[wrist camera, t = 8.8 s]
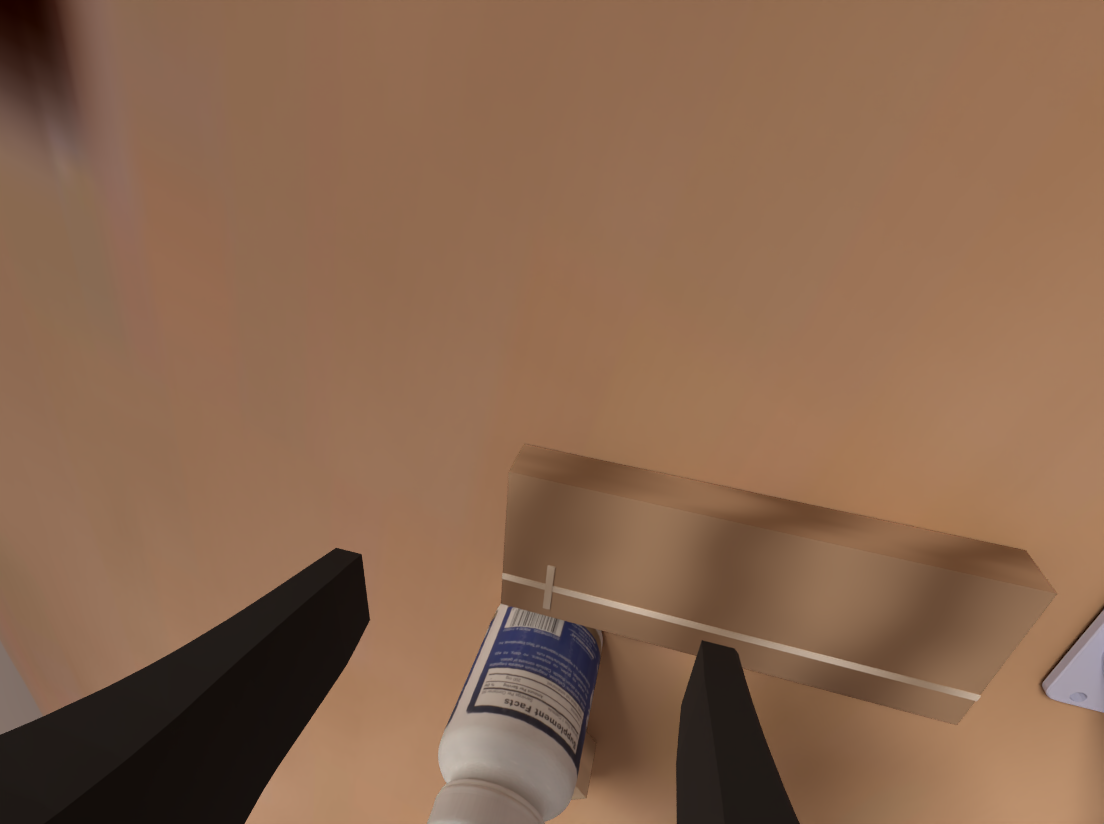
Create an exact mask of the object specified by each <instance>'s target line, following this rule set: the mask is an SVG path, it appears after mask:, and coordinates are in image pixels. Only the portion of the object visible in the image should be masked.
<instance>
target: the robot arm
mask: <svg viewBox="0 0 1104 824" xmlns="http://www.w3.org/2000/svg"><path fill="white" fill-rule="evenodd" d="M369 621H370V617H369V609H368V601H367V593H366V585H365V577H364V569H363V561H362V554H358V553H354V552H350V551H346V550H343V549H339V548H335V549H334V550H332V551H331V552H329V553H328V554H326V555H325V556H323V557H322V558H320V559H319V560H317V561H316V562H314V563H313V564H311V565H310V566H308V567H307V568H305V569H304V570H302V571H301V572H299V573H298V574H296V575H295V576H293V577H292V578H290V579H289V580H287V581H286V582H284V583H283V584H281V585H280V586H278V587H277V588H275V589H274V590H272V591H271V592H269V593H268V594H266V595H265V596H263V597H262V598H260V599H259V600H257V601H256V602H254V603H252V604H251V605H249V606H248V607H246V608H245V609H243V610H242V611H240V612H239V613H237V614H236V615H234V616H232V617H231V618H229V619H228V620H226V621H224V622H223V623H221V624H219V625H218V626H216V627H214V628H213V629H211V630H209V631H208V632H206V633H205V634H203V635H201V636H200V637H198V638H196V639H195V640H193V641H191V642H190V643H188V644H186V645H185V646H183V647H181V648H179V649H178V650H176V651H174V652H172V653H171V654H169V655H167V656H165V657H163V658H162V659H160V660H158V661H156V662H154V663H152V664H151V665H149V666H147V667H145V668H143V669H141V670H139V671H137V672H135V673H133V674H131V675H129V676H128V677H126V678H124V679H122V680H120V681H118V682H116V683H114V684H112V685H110V686H108V687H106V688H104V689H102V690H99V691H97V692H95V693H93V694H91V695H89V696H87V697H84V698H82V699H80V700H78V701H76V702H74V703H71V704H69V705H67V706H65V707H63V708H61V709H58V710H56V711H54V712H52V713H50V714H48V715H46V716H43V717H41V718H39V719H37V720H34V721H32V722H30V723H27V724H25V725H23V726H21V727H18V728H15V729H13V730H11V731H9V732H6V733H4V734H1V735H0V824H245V822H246V820H247V818H248V816H249V815H250V813H251V811H252V809H253V808H254V806H255V804H256V802H257V800H258V799H259V797H260V795H261V793H262V792H263V790H264V788H265V787H266V785H267V784H268V782H269V780H270V779H271V777H272V776H273V774H274V772H275V771H276V769H277V768H278V766H279V765H280V763H281V762H282V760H283V759H284V757H285V756H286V754H287V753H288V751H289V750H290V748H291V747H292V745H293V744H294V742H295V741H296V740H297V738H298V737H299V735H300V734H301V732H302V731H303V729H304V728H305V726H306V725H307V723H308V722H309V720H310V719H311V717H312V716H313V714H314V713H315V712H316V710H317V709H318V707H319V706H320V704H321V703H322V701H323V700H324V698H325V697H326V695H327V694H328V692H329V691H330V689H331V688H332V686H333V685H334V683H335V682H336V680H337V679H338V677H339V676H340V674H341V673H342V671H343V670H344V668H345V667H346V665H347V663H348V661H349V659H350V658H351V656H352V654H353V652H354V650H355V648H356V646H357V644H358V642H359V640H360V638H361V636H362V635H363V633H364V631H365V629H366V627H367V625H368V623H369ZM1042 687H1043V689H1044V691H1045V693H1046V695H1047V696H1048V697H1049V698H1051V699H1053V700H1056V701H1060V702H1064V703H1068V704H1072V705H1076V706H1080V707H1083V708H1087V709H1091V710H1095V711H1099V712H1103V713H1104V610H1103V611H1102V612H1101V613H1100V615H1099V616H1098V617H1097V618H1096V619H1095V621H1094V622H1093V623H1092V624H1091V625H1090V627H1089V628H1088V629H1087V630H1086V631H1085V632H1084V634H1083V635H1082V636H1081V637H1080V638H1079V640H1078V641H1077V642H1076V643H1075V644H1074V646H1073V647H1072V648H1071V649H1070V650H1069V652H1068V653H1067V654H1066V655H1065V656H1064V658H1063V659H1062V660H1061V661H1060V662H1059V663H1058V665H1057V666H1056V667H1055V668H1054V669H1053V671H1052V672H1051V673H1050V674H1049V675H1048V677H1047V678H1046V679H1045V680H1044V681H1043V684H1042ZM676 781H677V824H800V823H799V821H798V819H797V817H796V814H795V812H794V810H793V807H792V805H791V803H790V800H789V798H788V795H787V793H786V791H785V788H784V786H783V783H782V781H781V778H780V776H779V773H778V771H777V768H776V765H775V763H774V760H773V758H772V755H771V753H770V750H769V747H768V745H767V742H766V739H765V737H764V734H763V731H762V728H761V726H760V723H759V720H758V717H757V714H756V711H755V708H754V705H753V702H752V699H751V696H750V692H749V689H748V686H747V683H746V679H745V676H744V672H743V669H742V665H741V661H740V657H739V654H738V652H737V651H736V650H735V648H731V647H727V646H723V645H719V644H715V643H711V642H707V641H703V640H702V641H701V644H700V647H699V650H698V654H697V657H696V660H695V663H694V666H693V670H692V673H691V676H690V679H689V682H688V686H687V689H686V692H685V695H684V698H683V701H682V705H681V714H680V725H679V736H678V748H677V761H676Z"/></svg>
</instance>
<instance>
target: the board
mask: <svg viewBox="0 0 1104 824" xmlns="http://www.w3.org/2000/svg"><path fill="white" fill-rule="evenodd" d="M1056 595H1057V593H1056V591H1055V590H1054V588H1053V587H1052V586H1051V584H1050V583H1049V582H1048V580H1047V579H1046V577H1045V576H1044V575H1043V573H1042V572H1041V571H1040V569H1039V568H1038V566H1037V565H1036V564H1035V562H1034V561H1033V560H1032V558H1031V557H1030V555H1029V554H1028V553H1027V551H1025V550H1021V549H1016V548H1011V547H1007V546H1002V545H997V544H992V543H988V542H983V541H978V540H974V539H969V538H964V537H960V536H955V535H950V534H945V533H941V532H936V531H931V530H927V529H922V528H917V527H913V526H908V525H903V524H898V523H894V522H889V521H884V520H880V519H875V518H870V517H865V516H861V515H856V514H851V513H847V512H842V511H837V510H833V509H828V508H823V507H818V506H814V505H809V504H804V503H800V502H795V501H790V500H785V499H781V498H776V497H771V496H767V495H762V494H757V493H753V492H748V491H743V490H738V489H734V488H729V487H724V486H720V485H715V484H710V483H706V482H701V481H696V480H691V479H687V478H682V477H677V476H673V475H668V474H663V473H658V472H654V471H649V470H644V469H640V468H635V467H630V466H626V465H621V464H616V463H611V462H607V461H602V460H597V459H593V458H588V457H583V456H579V455H574V454H569V453H564V452H560V451H555V450H550V449H546V448H541V447H536V446H531V445H527V444H524V445H523V447H522V449H521V451H520V452H519V454H518V456H517V458H516V460H515V461H514V463H513V465H512V467H511V468H510V470H509V475H508V492H507V509H506V526H505V543H504V559H503V573H502V593H501V604H504V605H507V606H511V607H515V608H519V609H522V610H526V611H530V612H534V613H537V614H541V615H545V616H549V617H552V618H556V619H560V620H564V621H567V622H571V623H575V624H579V625H582V626H586V627H590V628H594V629H597V630H601V631H605V632H609V633H612V634H616V635H620V636H624V637H627V638H631V639H635V640H639V641H642V642H646V643H650V644H654V645H658V646H661V647H665V648H669V649H673V650H676V651H680V652H684V653H688V654H691V655H695V656H697V654H698V650H699V647H700V644H701V641H702V640H703V641H707V642H711V643H715V644H719V645H723V646H727V647H731V648H735V650H736V651H737V652H738V654H739V657H740V661H741V665H742V668H744V669H748V670H751V671H755V672H759V673H763V674H766V675H770V676H774V677H778V678H781V679H785V680H789V681H793V682H796V683H800V684H804V685H808V686H811V687H815V688H819V689H823V690H826V691H830V692H834V693H838V694H842V695H845V696H849V697H853V698H857V699H860V700H864V701H868V702H872V703H875V704H879V705H883V706H887V707H890V708H894V709H898V710H902V711H905V712H909V713H913V714H917V715H920V716H924V717H928V718H932V719H935V720H939V721H943V722H947V723H950V724H954V725H958V723H959V722H960V721H961V719H962V718H963V717H964V716H965V714H966V713H967V712H968V710H969V709H970V708H971V706H972V705H973V704H974V702H975V701H978V699H979V698H980V697H981V696H980V695H981V693H982V692H983V691H984V689H985V688H986V687H987V685H988V684H989V683H990V682H991V680H992V679H993V678H994V676H995V675H996V674H997V672H998V671H999V670H1000V668H1001V667H1002V666H1003V664H1004V663H1005V662H1006V661H1007V659H1008V658H1009V657H1010V655H1011V654H1012V653H1013V651H1014V650H1015V649H1016V647H1017V646H1018V645H1019V644H1020V642H1021V641H1022V640H1023V638H1024V637H1025V636H1026V634H1027V633H1028V632H1029V630H1030V629H1031V628H1032V627H1033V625H1034V624H1035V623H1036V621H1037V620H1038V619H1039V617H1040V616H1041V615H1042V613H1043V612H1044V611H1045V609H1046V608H1047V607H1048V606H1049V604H1050V603H1051V602H1052V600H1053V599H1054V598H1055V596H1056Z"/></svg>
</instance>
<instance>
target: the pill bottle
mask: <svg viewBox="0 0 1104 824" xmlns="http://www.w3.org/2000/svg"><path fill="white" fill-rule="evenodd" d="M602 646H603V637H602V632H601V630H597V629H594V628H590V627H586V626H582V625H579V624H575V623H571V622H567V621H564V620H560V619H556V618H552V617H549V616H545V615H541V614H537V613H534V612H530V611H526V610H522V609H519V608H515V607H511V606H507V605H504V604H500V606H499V607H498V609H497V611H496V613H495V615H494V617H493V619H492V621H491V623H490V625H489V628H488V630H487V633H486V635H485V638H484V640H483V642H482V645H481V647H480V649H479V652H478V654H477V656H476V659H475V661H474V663H473V666H472V668H471V670H470V673H469V675H468V677H467V680H466V682H465V684H464V687H463V689H462V691H461V694H460V696H459V698H458V701H457V703H456V705H455V708H454V710H453V712H452V714H451V717H450V719H449V721H448V724H447V726H446V728H445V730H444V733H443V736H442V739H441V742H440V745H439V752H438V760H439V766H440V770H441V773H442V775H443V778H444V780H445V781H446V783H447V784H446V785H444V786H443V787H442V789H441V791H440V792H439V793H438V795H437V796H436V799H435V802H434V806H433V809H432V811H431V814H430V817H429V819H428V822H427V824H545V823H544V822H545V821H548V820H551V819H553V818H555V817H556V816H558V815H559V814H560V813H562V812H563V811H564V810H565V808H566V807H567V806H568V804H569V803H570V801H571V799H572V796H573V794H574V790H575V786H576V782H577V778H578V772H579V767H580V760H581V755H582V750H583V745H584V740H585V734H586V730H587V725H588V719H589V715H590V709H591V705H592V700H593V694H594V689H595V684H596V678H597V674H598V669H599V664H600V659H601V653H602Z"/></svg>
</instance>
